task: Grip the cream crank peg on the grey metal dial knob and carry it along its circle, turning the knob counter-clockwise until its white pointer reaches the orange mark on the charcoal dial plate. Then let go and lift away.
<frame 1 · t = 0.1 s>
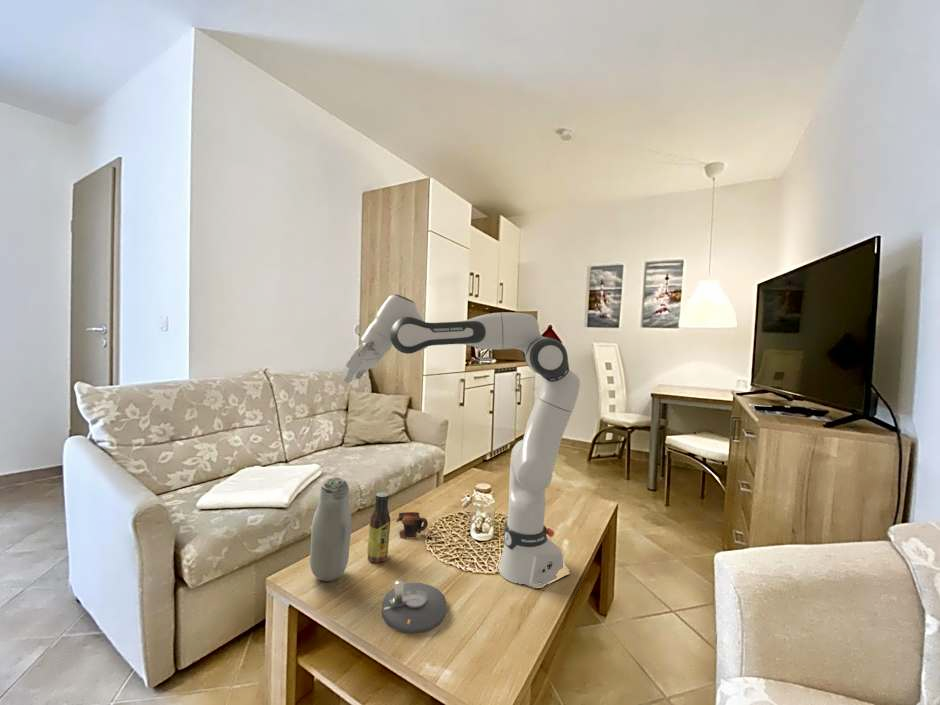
hand: (352, 380, 122), 54 cm above the table, tool tilted 30°, fingers open, 8 cm apart
dial plate: (414, 609, 102), on the table
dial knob: (409, 591, 101), point 5 cm above the table, hinge at 0.0°
grey bottle: (328, 577, 112), on the table
sauce bottle: (377, 558, 124), on the table
pottery mug: (411, 533, 141), on the table
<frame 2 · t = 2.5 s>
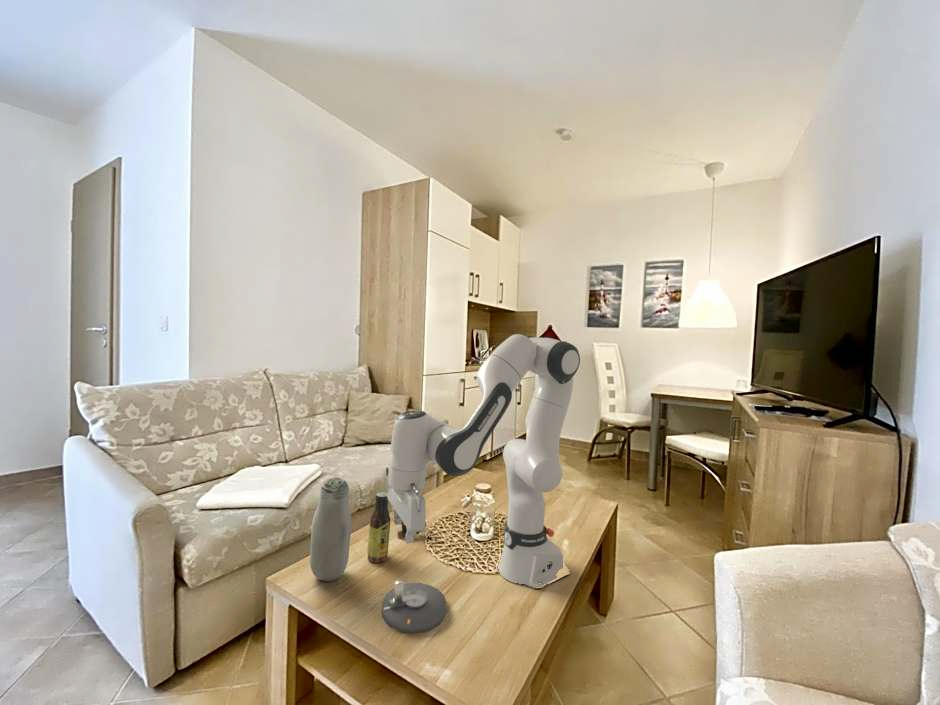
hand: (402, 532, 99), 21 cm above the table, tool pointing down, fingers open, 8 cm apart
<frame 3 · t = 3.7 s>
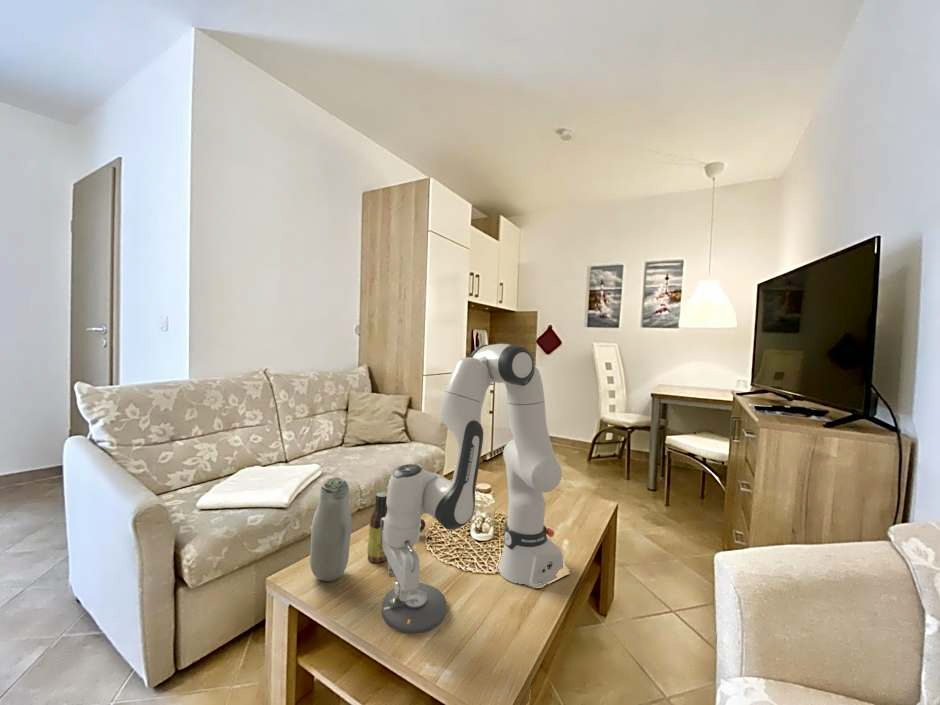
hand: (396, 586, 99), 7 cm above the table, tool pointing down, fingers open, 8 cm apart
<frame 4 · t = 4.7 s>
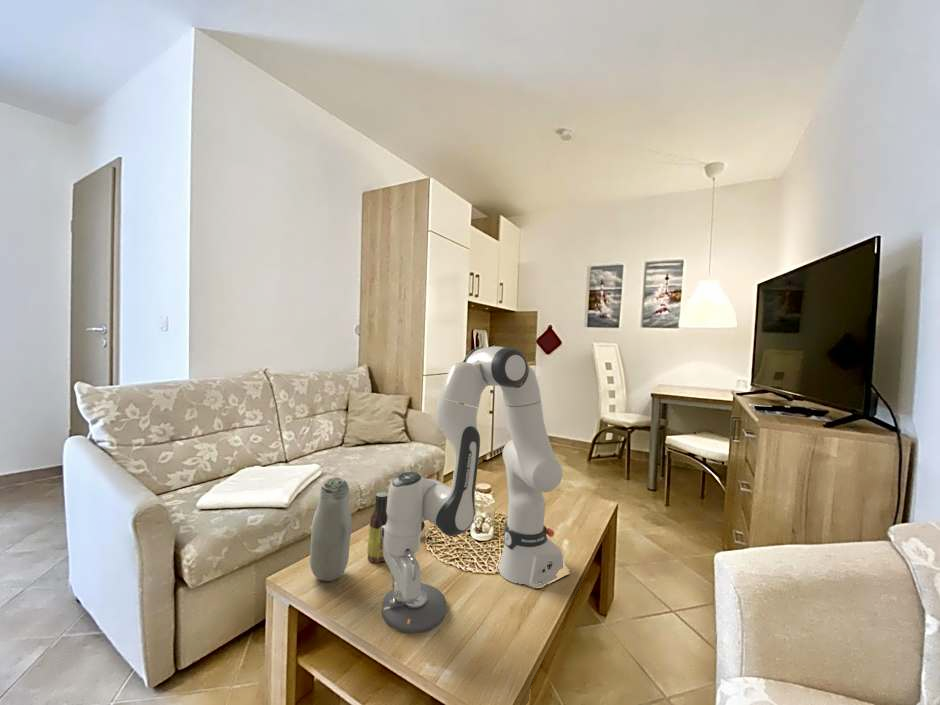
hand: (398, 594, 100), 5 cm above the table, tool pointing down, fingers closed on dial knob, 2 cm apart
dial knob: (409, 591, 101), point 5 cm above the table, hinge at 0.0°, touching gripper
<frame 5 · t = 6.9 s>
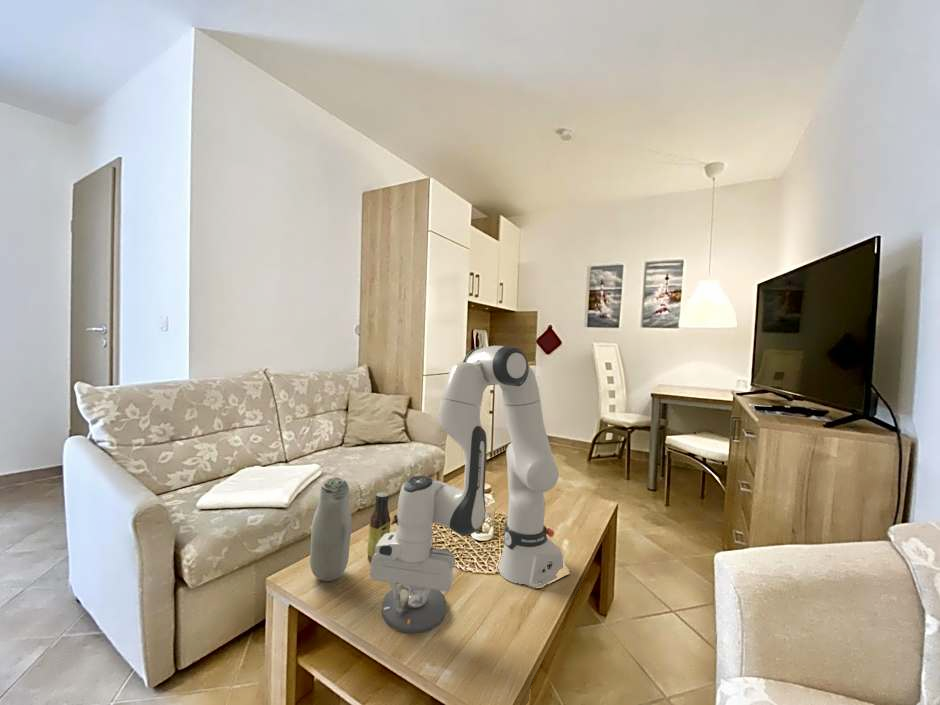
hand: (409, 600, 98), 5 cm above the table, tool pointing down, fingers open, 5 cm apart
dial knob: (411, 593, 100), point 5 cm above the table, hinge at 32.9°, touching gripper
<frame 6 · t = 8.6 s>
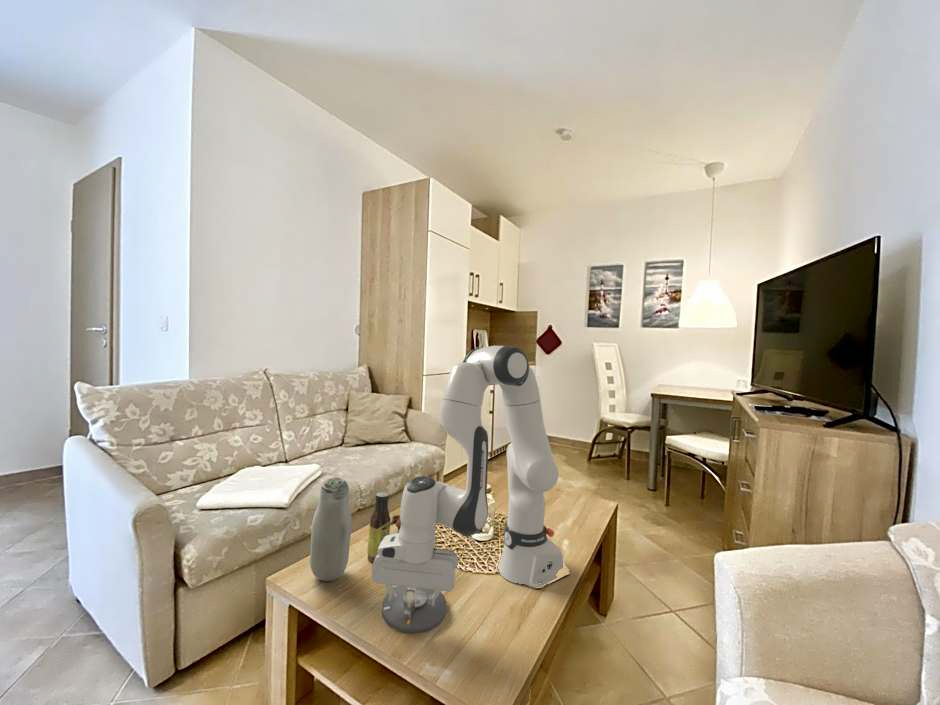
hand: (411, 602, 97), 5 cm above the table, tool pointing down, fingers open, 8 cm apart
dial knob: (413, 594, 100), point 5 cm above the table, hinge at 53.8°
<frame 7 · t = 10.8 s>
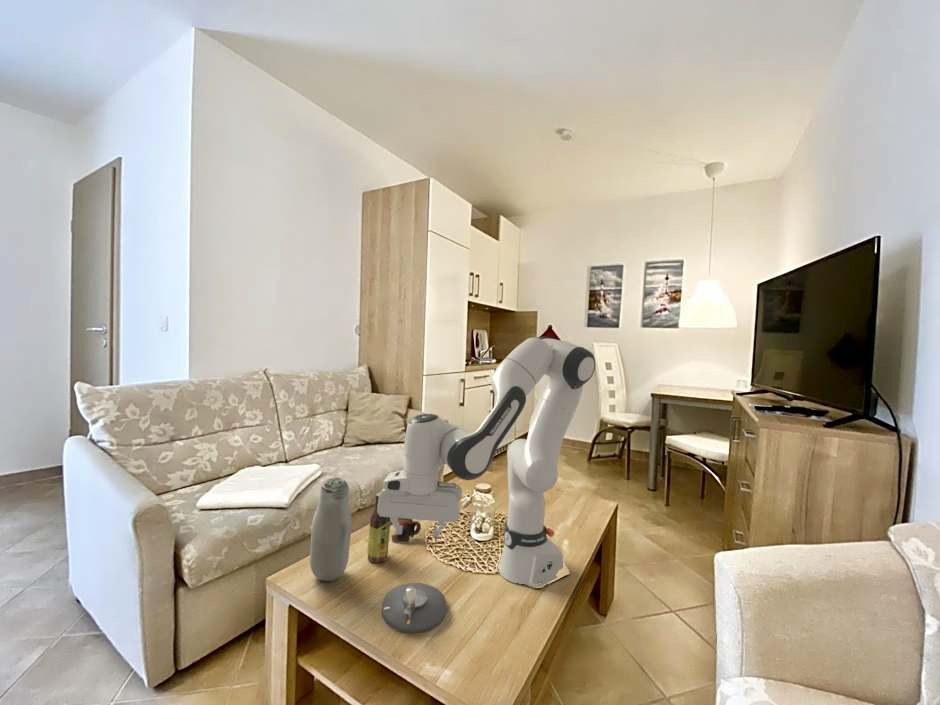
hand: (417, 535, 99), 20 cm above the table, tool pointing down, fingers open, 8 cm apart
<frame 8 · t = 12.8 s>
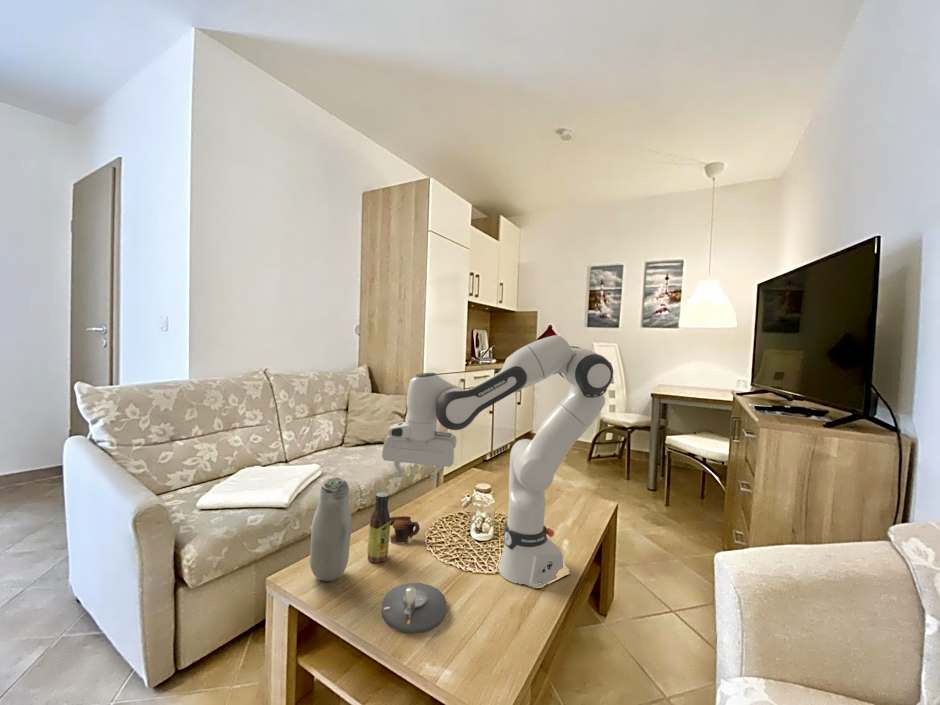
hand: (416, 478, 113), 29 cm above the table, tool pointing down, fingers open, 8 cm apart
at the end: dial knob at +54° (first picture: +0°); the gripper is holding nothing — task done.
